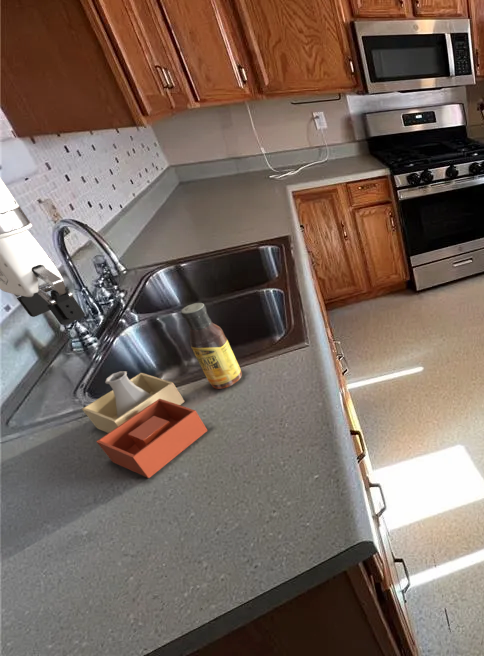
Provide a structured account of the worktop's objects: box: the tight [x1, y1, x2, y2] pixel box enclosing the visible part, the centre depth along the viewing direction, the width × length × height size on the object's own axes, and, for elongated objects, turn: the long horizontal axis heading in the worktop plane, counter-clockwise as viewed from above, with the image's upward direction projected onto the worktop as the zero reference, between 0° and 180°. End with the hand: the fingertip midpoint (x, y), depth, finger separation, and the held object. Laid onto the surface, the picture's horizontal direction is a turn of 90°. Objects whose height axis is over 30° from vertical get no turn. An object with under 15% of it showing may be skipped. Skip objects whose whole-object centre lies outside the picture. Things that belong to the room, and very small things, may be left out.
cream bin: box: [81, 372, 185, 434], centre depth 85 cm, size 11×11×6 cm
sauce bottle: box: [180, 302, 243, 390], centre depth 89 cm, size 7×6×20 cm
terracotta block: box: [128, 416, 172, 450], centre depth 77 cm, size 4×4×4 cm
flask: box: [104, 370, 152, 418], centre depth 84 cm, size 7×7×10 cm
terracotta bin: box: [95, 399, 208, 479], centre depth 77 cm, size 11×11×6 cm
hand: (58, 316), depth 72 cm, fingers open, 9 cm apart
